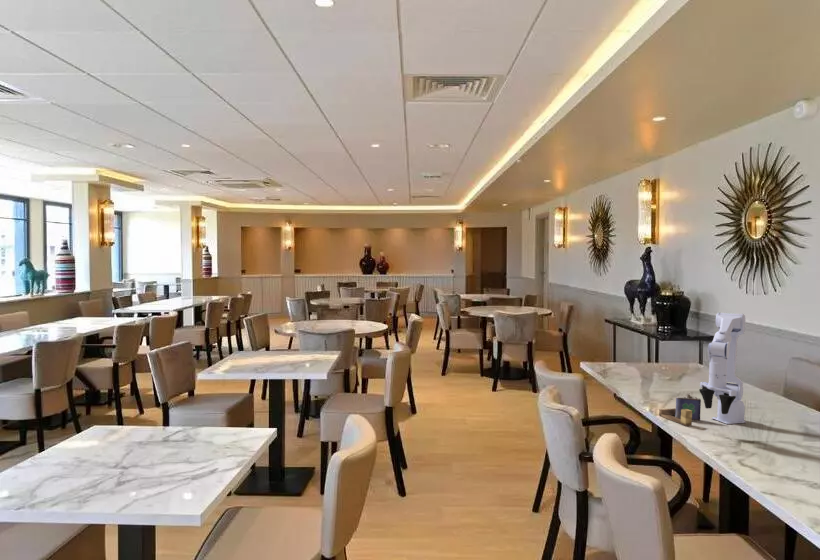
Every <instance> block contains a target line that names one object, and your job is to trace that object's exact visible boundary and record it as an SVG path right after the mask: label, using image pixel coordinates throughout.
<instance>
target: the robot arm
mask: <svg viewBox="0 0 820 560" xmlns="http://www.w3.org/2000/svg"><path fill="white" fill-rule="evenodd" d="M715 326H716V328H717V330H718V331H716V332H715V333H714V336H713V339H712V341H711V342H709V343H708V345H707V357H708V362H709V366H708V382H706V381H705V382H704V381H700V382H699V388H700V389H699V390H698V391H699V393H700V394H701V396H702V399H703V403H704V407H705V409H712V406H713V398H714V396H715V397H716V399H717V411H716V412H717V415H716V416H715V417H711V420H716V421H718V422H720V423H724V424H726V425H732V424H744V423H747V422H746V420H745V409H746V408H745V404H744V402H743V396H744V382H743V381H742V379H741V378H739V377H738V376H737V375H736V372H737V371H736V370H737V369H736V368H737V356H738V355H737V354H738V342H739V337H740V336H741V335H744V334H745V330H746V315H745V313H734V312H733V313H731V312H730V313H729V312H728V313H727V312H721V311H720V312H719V311H718V312H717V313H716V314H715Z"/></svg>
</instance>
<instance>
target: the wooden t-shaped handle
mask: <svg viewBox="0 0 820 560" xmlns="http://www.w3.org/2000/svg"><path fill="white" fill-rule="evenodd" d="M658 412H659V413H658V416H659V417H662V418H665V419H667V420H670V421H673V422H675V423H678V424H680V425H682V426H685V427H692V423H693V420H692V411H691V410H688V409H682V410H681V419H678V418H676V417H675V414H676V407H675V408H663V409H661V408H660V409H659V411H658Z"/></svg>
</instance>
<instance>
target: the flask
mask: <svg viewBox="0 0 820 560" xmlns="http://www.w3.org/2000/svg"><path fill="white" fill-rule="evenodd" d="M685 394H686V395H685V396H676V397H675V408H676V414H675V415H674V417H676V418H678V419H681V410H682V409H688V410H691V411H692V421H695V422H700V421H701V405H702V404H701V403H702V401H701V398H699V397H697V396H692V395H690V392H686V393H685Z"/></svg>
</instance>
